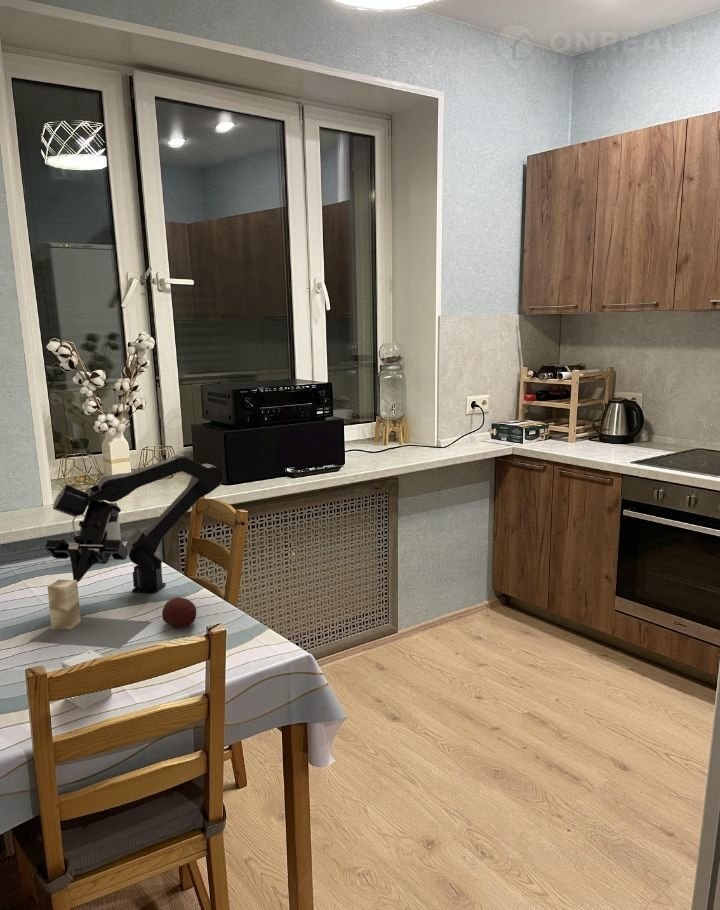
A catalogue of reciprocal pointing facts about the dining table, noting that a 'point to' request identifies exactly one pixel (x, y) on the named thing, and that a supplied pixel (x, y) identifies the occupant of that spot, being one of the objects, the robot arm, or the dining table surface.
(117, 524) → the glass holder
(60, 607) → the birch block
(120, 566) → the dining table surface
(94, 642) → the charcoal rubber mat
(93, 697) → the product box
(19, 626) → the dining table surface
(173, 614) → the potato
